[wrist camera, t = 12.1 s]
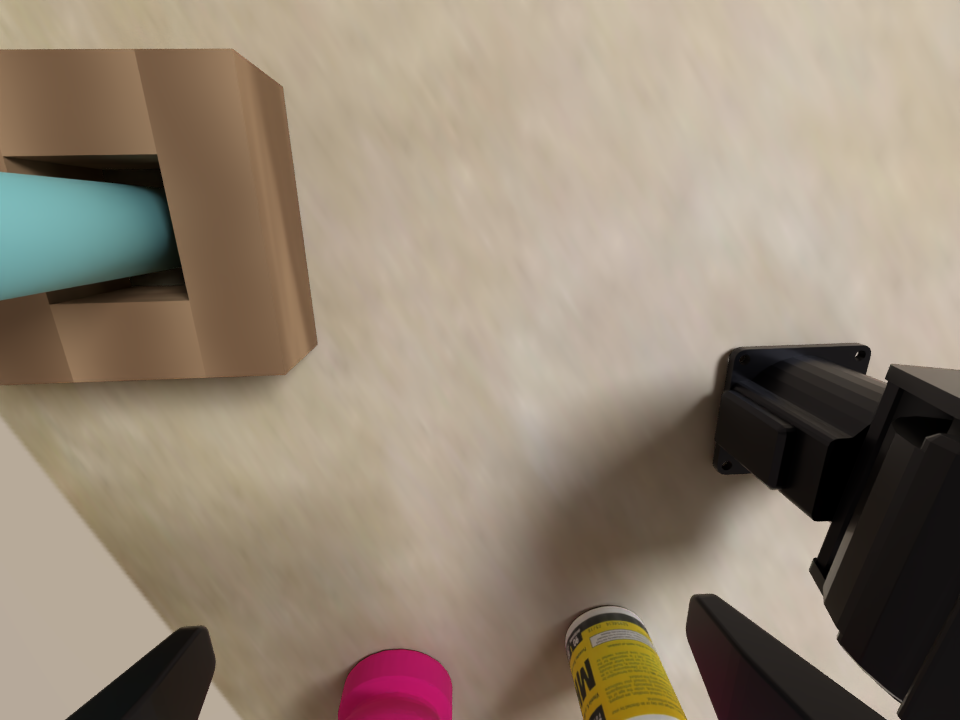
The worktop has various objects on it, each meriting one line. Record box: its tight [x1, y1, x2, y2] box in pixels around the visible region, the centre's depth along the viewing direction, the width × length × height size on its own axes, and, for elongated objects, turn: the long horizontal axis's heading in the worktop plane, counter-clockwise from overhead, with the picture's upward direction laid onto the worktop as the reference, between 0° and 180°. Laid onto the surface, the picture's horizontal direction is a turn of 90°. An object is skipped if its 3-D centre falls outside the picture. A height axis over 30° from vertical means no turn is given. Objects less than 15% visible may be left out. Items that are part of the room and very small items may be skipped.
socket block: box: [0, 49, 317, 385], centre depth 16 cm, size 10×10×4 cm
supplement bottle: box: [565, 606, 687, 720], centre depth 22 cm, size 5×5×8 cm
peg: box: [0, 172, 182, 300], centre depth 12 cm, size 3×3×12 cm
